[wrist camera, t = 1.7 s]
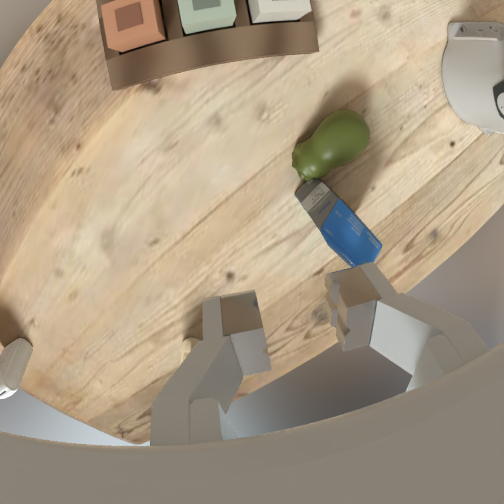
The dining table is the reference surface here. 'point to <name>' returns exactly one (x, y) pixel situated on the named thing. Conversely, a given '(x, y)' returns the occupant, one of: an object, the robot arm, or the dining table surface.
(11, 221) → the dining table surface
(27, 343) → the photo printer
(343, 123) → the pear
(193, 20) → the key sage
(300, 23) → the keypad base
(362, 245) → the label tape cartridge
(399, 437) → the robot arm
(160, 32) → the key rust
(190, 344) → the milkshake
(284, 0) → the key ivory
